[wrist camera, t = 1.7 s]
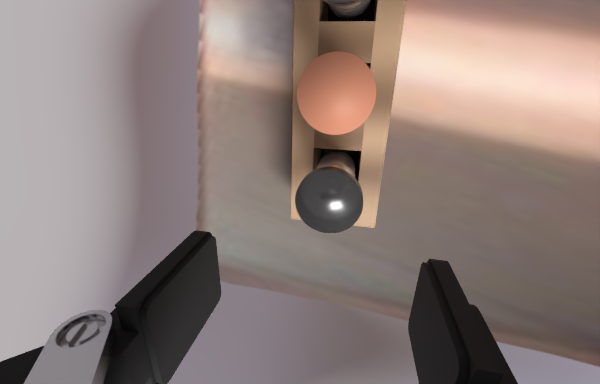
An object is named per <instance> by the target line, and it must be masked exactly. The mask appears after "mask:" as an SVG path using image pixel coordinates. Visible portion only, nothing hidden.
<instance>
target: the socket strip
mask: <svg viewBox="0 0 600 384" xmlns="http://www.w3.org/2000/svg"><path fill="white" fill-rule="evenodd" d="M405 7H406V0H375V9H374V18H373V21H327V18H328V3H326V2H325V1H323V0H294V36H293V114H292V193H291V219H298V220H302V219H301V218H300V216H299V214H298V212H297V209H296V205H295V195H296V191H297V189H298V187H299V185H300V183H301V181H302V180H303V178H304V177H305V176H306V175H307V174H308V173H310V172H311V171H313V170H315V169H316V168H317V166H318V164H319V161H320V154H321V148H323V149H338V150H353V151H360V152H359V162H358V171H357V176H355V178H356V180H357V181H358V182H359V184H360V186H361V189H362V192H363V210H362V213H361V215H360V217H359V219H358V220H357V222H356V223H355V224H354V225H353V226H362V227H371V228H375V222H376V215H377V208H378V200H379V193H380V186H381V179H382V172H383V165H384V157H385V150H386V143H387V136H388V129H389V121H390V114H391V107H392V100H393V93H394V86H395V78H396V71H397V64H398V57H399V50H400V43H401V35H402V28H403V21H404V14H405ZM336 51H340V52H347V53H350V54H353V55H355V56H357V57H359V58H360V59H361V60H363V61H364V62H365V63H366V64H367V66H368V67H369V68H370V70H371V72H372V74H373V76H374V79H375V83H376V100H375V104H374V107H373V110H372V112H371V114H370V115H369V117H368V118H367V119H366V121H365V122H364V123H363V124H362V125H361V126H359V127H358V128H356V129H355V130H353V131H351V132H348V133H345V134H340V135H330V134H325V133H322V132H320V131H318V130H316V129H314V128H313V127H312V126H310V125H309V124H308V123H307V121H306V120H305V119H304V117H303V116H302V114H301V112H300V109H299V106H298V101H297V88H298V83H299V80H300V77H301V75H302V73H303V72H304V70H305V68H306V67H307V66H308V65H309V64H310V63H311V62H312V61H313V60H314V59H316V58H317V57H319V56H321V55H323V54H326V53H329V52H336Z"/></svg>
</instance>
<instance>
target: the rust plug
mask: <svg viewBox="0 0 600 384" xmlns="http://www.w3.org/2000/svg"><path fill="white" fill-rule="evenodd" d="M375 100H376V83H375V79H374V76H373V74H372V72H371V70H370V68H369V67H368V66H367V64H366V63H365V62H364V61H363V60H361V59H360V58H359V57H357V56H355V55H353V54H350V53H347V52H340V51H336V52H329V53H326V54H323V55H321V56H319V57H317V58H316V59H314V60H313V61H312V62H311V63H310V64H309V65H308V66H307V67H306V68H305V70H304V72H303V73H302V75H301V77H300V80H299V83H298V88H297V101H298V106H299V109H300V112H301V114H302V116H303V117H304V119H305V120H306V121H307V123H308V124H309V125H310V126H312V127H313V128H314V129H316V130H318V131H320V132H322V133H325V134H330V135H340V134H345V133H348V132H351V131H353V130H355V129H356V128H358V127H359V126H361V125H362V124H363V123H364V122H365V121H366V119H367V118H368V117H369V115H370V114H371V112H372V110H373V107H374V104H375Z"/></svg>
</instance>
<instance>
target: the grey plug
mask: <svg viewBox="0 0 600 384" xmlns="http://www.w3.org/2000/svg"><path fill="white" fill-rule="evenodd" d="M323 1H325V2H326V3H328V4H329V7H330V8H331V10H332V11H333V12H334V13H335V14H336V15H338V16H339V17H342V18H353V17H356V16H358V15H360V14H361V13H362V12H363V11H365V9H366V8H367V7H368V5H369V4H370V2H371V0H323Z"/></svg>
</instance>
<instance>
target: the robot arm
mask: <svg viewBox="0 0 600 384" xmlns="http://www.w3.org/2000/svg"><path fill="white" fill-rule="evenodd" d="M220 297H221V285H220V276H219V266H218V256H217V246H216V239H215V237H214V236H212V234H211V233H210V232H204V231H194V232H193V233H191V234H190V236H188V237H187V238H186V239H185V240H184V241H183V242H182V243H181V244H180V245H179V246H178V247H176V249H174V250H173V251H172V252H171V253H170V254H169V255H168V256H167V257H166V258H165V259H164V260H163V261H161V262H160V263H159V264H158V265H157V266H156V267H155V268H154V269H153V270H152V271H151V272H150V273H149V274H148V275H146V276H145V277H144V278H143V279H142V280H141V281H140V282H139V283H138V284H137V285H136V286H135V287H134V288H133V289H131V291H129V292H128V293H127V294H126V295H125V296H124V297H123V298H122V299H121V300H120V301H119V302H118V303H117V304H115V307H116V308H115V309H114V310H113V311H112V312H111V313H108V312H107V311H103V310H92V311H87V312H84V313H80V314H78V315H76V316H74V317H71V318H70V319H68V320H67V321H65V322H64V323H62V324H61V325H60V326H59V327H57V329H55V330H54V332H53V333H52V334H51V336H50V337H49V339H48V341H47V343H46V344H45V346H42V347H39V348H37V349H34V350H31V351H28V352H26V353H23V354H20V355H18V356H15V357H12V358H9V359H7V360H4V361H2V362H0V384H167V383H168V382H169V380H170V379H171V377H172V376H173V374H174V373H175V371H176V369H177V368H178V366H179V365H180V363H181V361H182V360H183V358H184V357H185V355H186V353H187V352H188V350H189V349H190V347H191V345H192V344H193V342H194V341H195V339H196V337H197V335H198V334H199V333H200V331H201V329H202V328H203V326H204V324H205V323H206V321H207V319H208V318H209V316H210V315H211V313H212V312H213V310H214V308H215V307H216V305H217V303H218V302H219V300H220ZM408 327H409V328H408V329H409V336H410V341H411V345H412V351H413V356H414V361H415V366H416V370H417V376H418V380H419V384H518V383H517V382H516V379H515V377H514V376H513V374H512V372H511V370H510V368H509V366H508V364H507V362H506V361H505V358H504V357H503V355H502V353H501V351H500V349H499V347H498V345H497V343H496V341H495V339H494V337H493V336H492V334H491V332H490V330H489V328H488V326H487V324H486V322H485V320H484V318H483V317H482V315H481V313H480V311H479V309H478V308H477V307H476V306H475V305H471V304H469V303H468V301H467V299H466V296H465V294H464V292H463V290H462V288H461V286H460V284H459V282H458V280H457V278H456V276H455V274H454V272H453V270H452V268H451V266H450V264H449V263H448V261H443V260H435V259H429V260H428V262H427V263H424V262H423V263H422V264H421V268H420V273H419V277H418V282H417V286H416V291H415V296H414V300H413V305H412V309H411V314H410V318H409V325H408Z"/></svg>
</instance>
